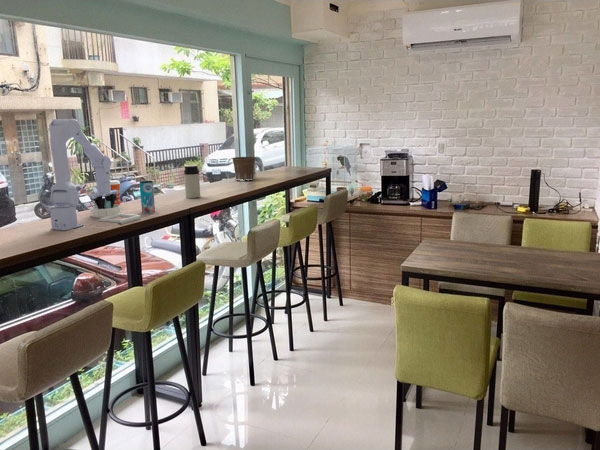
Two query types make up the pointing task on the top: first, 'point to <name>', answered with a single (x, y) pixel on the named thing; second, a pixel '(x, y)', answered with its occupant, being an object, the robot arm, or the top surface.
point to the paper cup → (116, 186)
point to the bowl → (105, 211)
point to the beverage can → (147, 196)
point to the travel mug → (192, 181)
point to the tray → (123, 221)
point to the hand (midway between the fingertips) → (106, 212)
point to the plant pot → (244, 167)
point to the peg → (107, 204)
